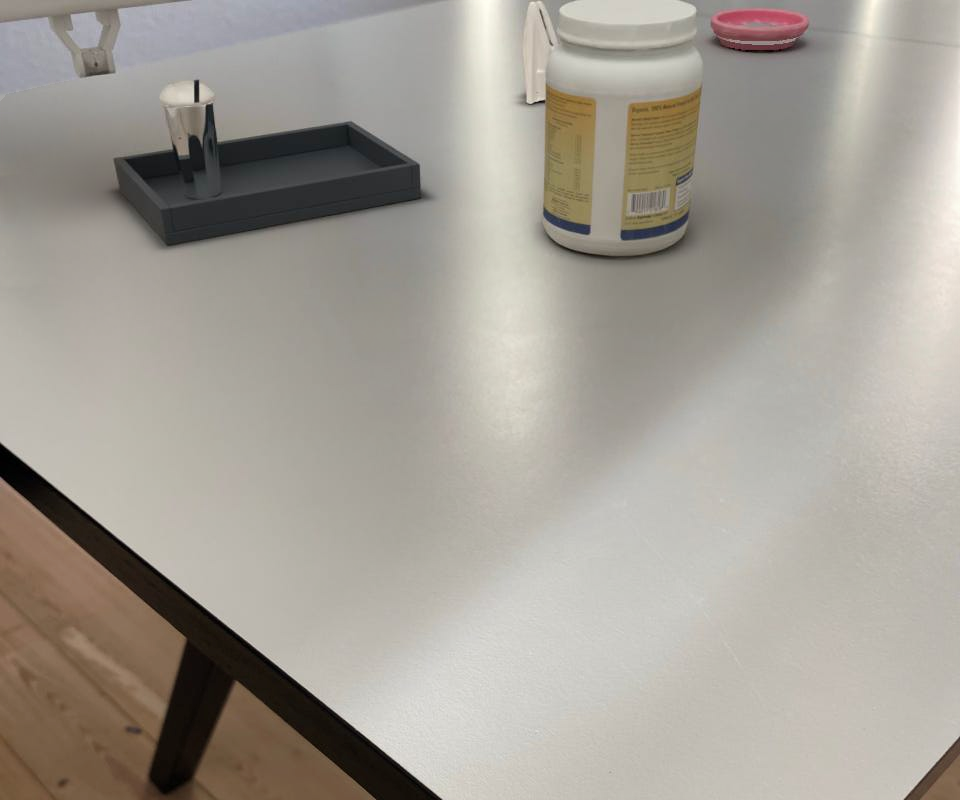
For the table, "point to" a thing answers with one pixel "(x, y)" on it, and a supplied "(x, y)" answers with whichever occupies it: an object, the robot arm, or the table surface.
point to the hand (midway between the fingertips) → (96, 74)
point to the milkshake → (193, 136)
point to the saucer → (730, 20)
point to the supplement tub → (621, 125)
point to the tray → (271, 182)
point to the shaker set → (537, 50)
